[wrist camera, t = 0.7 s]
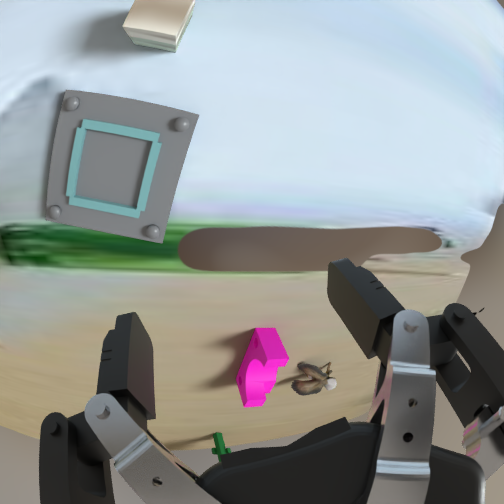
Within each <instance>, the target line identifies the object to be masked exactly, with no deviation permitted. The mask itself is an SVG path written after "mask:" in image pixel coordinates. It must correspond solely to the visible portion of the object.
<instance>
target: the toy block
mask: <svg viewBox="0 0 504 504" xmlns="http://www.w3.org/2000/svg"><path fill="white" fill-rule="evenodd" d="M288 360H289V357H288V355H287V353H286V350H285V348H284V346H283V344H282V342H281V340H280V337H279V335H278V333H277V331H276V329H275V328H255V330H254V333H253V336H252V338H251V341H250V344H249V346H248V349H247V351H246V354H245V356H244V359H243V361H242V364H241V367H240V369H239V372H238V374H237V377H236V381H237V385H238V388H239V392H240V395H241V399H242V402H243V406H244V407H255V406H262V405H263V404H264V402H265V400H266V396H265V393H270V391H271V389H272V388H273V386H274V384H275V382H276V374H277V369H278V367H281V366H285V365H286V363H287V362H288Z"/></svg>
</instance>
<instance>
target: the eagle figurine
mask: <svg viewBox="0 0 504 504" xmlns="http://www.w3.org/2000/svg"><path fill="white" fill-rule="evenodd" d="M330 365H331V362H330V363H329V364H328V368H327V372H326V373H323V372H322V371H321V370H319V369H318V367H317V366H314V365H310V364H300V365H298V367H299V369H301V370H302V371H304V372H305V373H306V374H307V377H308V378H309V379H312V380H309V381H299V380H294V382H292V385H291V386H292V387H291V388H292V389H293V390H294V391H296V393H298V394H299V395H310V394H314V393H318V392H320V391H321V389H322V387H323V385H324V386H325V388H326V389H327V390H331V389H334V388H335V387H336V385H337V382H336V380H335V378H333V377H329V375H330V373H331V372H332V370H330Z"/></svg>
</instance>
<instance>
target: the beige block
mask: <svg viewBox="0 0 504 504" xmlns="http://www.w3.org/2000/svg"><path fill="white" fill-rule="evenodd" d="M194 5H195V0H135V1H134V3H133V5H132V7H131V9H130V11H129V13H128V15H127V17H126V19H125V22H124V24H123V26H122V27H123V28H124V30H125V31H126V33H127V34H128V36H129V37H130V39H131V40H132V41H133V43H134V44H135V45H141V46H147V47H152V48H157V49H162V50H167V51H171V52H175V53H176V51H177V48H178V46H179V44H180V41H181V39H182V37H183V34H184V32H185V30H186V28H187V26H188V24H189V22H190V19H191V17H192V13H193V9H194Z"/></svg>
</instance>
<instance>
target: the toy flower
mask: <svg viewBox="0 0 504 504" xmlns="http://www.w3.org/2000/svg"><path fill="white" fill-rule="evenodd" d="M213 438H214V442H215V446H216V448H212V453H213V454H217V455H218V459H219V462H221V458H220V455H222V454H227V453H231V451H230V448H226V449H225V444H224V441H223V437H222V433H217V432H216V433H215V434H213Z"/></svg>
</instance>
